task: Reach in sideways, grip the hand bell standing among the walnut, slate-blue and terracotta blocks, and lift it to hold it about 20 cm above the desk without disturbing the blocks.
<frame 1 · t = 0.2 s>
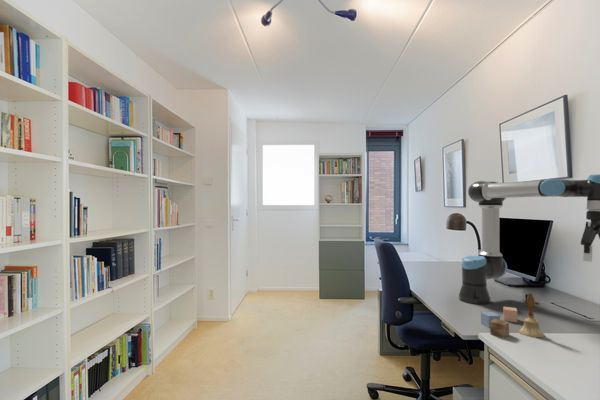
hand: (595, 260, 141), 27 cm above the table, tool pointing down, fingers open, 13 cm apart
hand bell: (531, 334, 131), on the table
terracotta block: (510, 320, 147), on the table
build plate: (528, 303, 176), on the table
walnut block: (499, 334, 130), on the table
slate-blue block: (490, 325, 140), on the table
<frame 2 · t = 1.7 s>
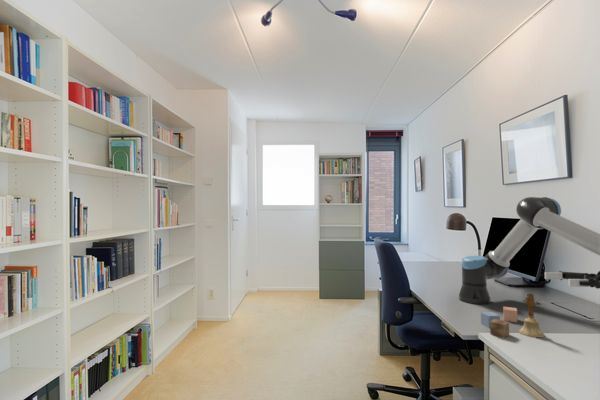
hand: (556, 278, 130), 22 cm above the table, tool horizontal, fingers open, 13 cm apart
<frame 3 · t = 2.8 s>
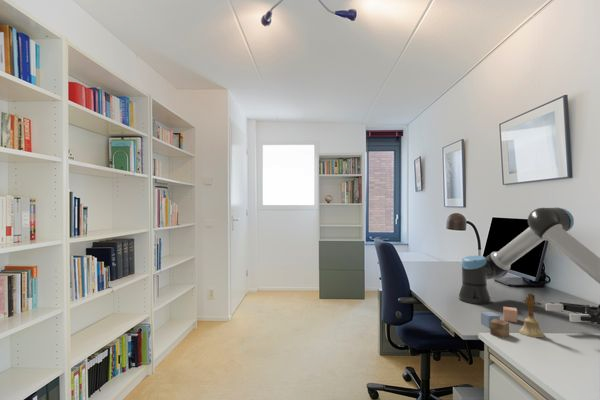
hand: (557, 312, 130), 9 cm above the table, tool horizontal, fingers open, 13 cm apart
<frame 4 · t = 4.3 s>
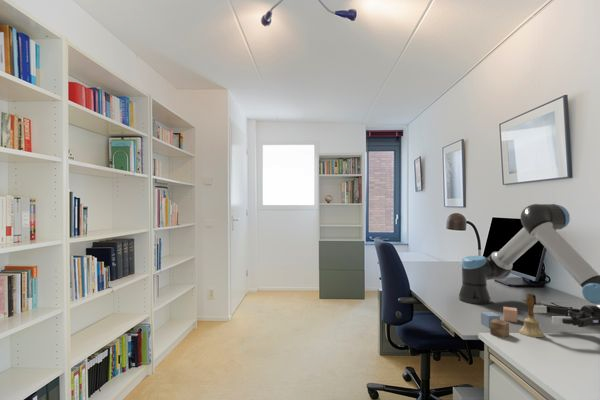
hand: (540, 314, 130), 8 cm above the table, tool horizontal, fingers open, 13 cm apart
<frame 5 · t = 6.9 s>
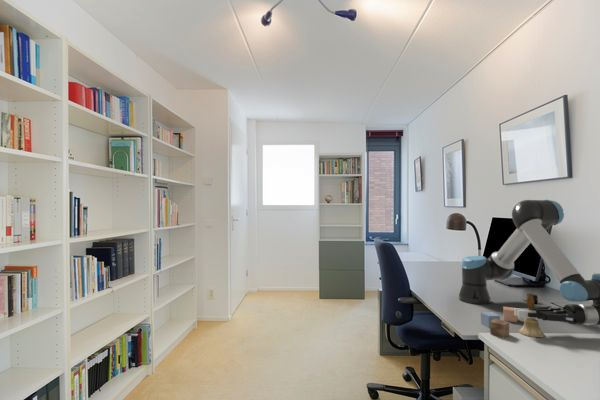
hand: (516, 312, 131), 8 cm above the table, tool horizontal, fingers closed on hand bell, 2 cm apart
hand bell: (531, 334, 131), on the table, touching gripper
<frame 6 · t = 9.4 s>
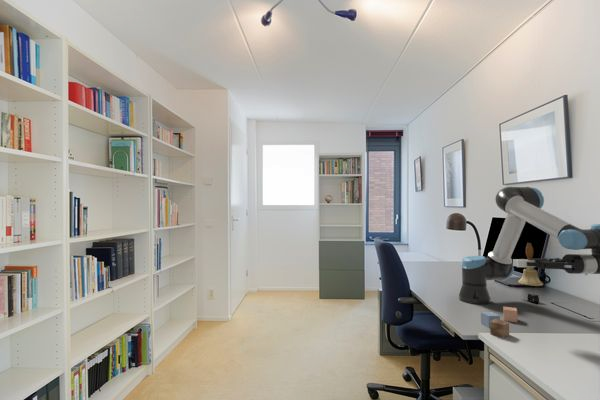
hand: (515, 263, 132), 28 cm above the table, tool horizontal, fingers closed on hand bell, 2 cm apart
hand bell: (530, 284, 131), point 19 cm above the table, touching gripper
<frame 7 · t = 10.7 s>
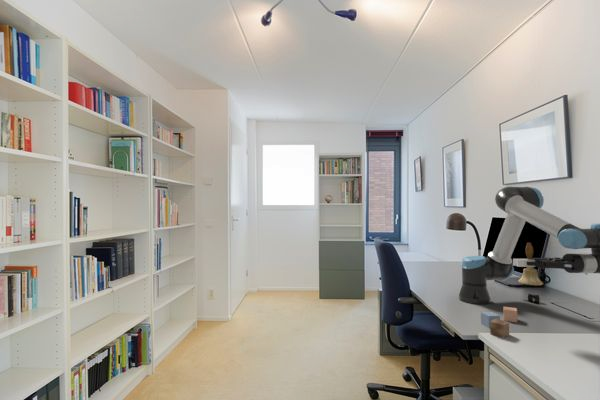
hand: (515, 262, 132), 28 cm above the table, tool horizontal, fingers closed on hand bell, 2 cm apart
hand bell: (530, 283, 131), point 20 cm above the table, touching gripper
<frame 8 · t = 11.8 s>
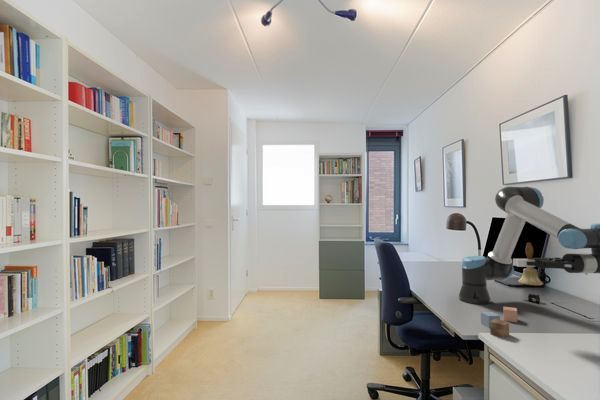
hand: (515, 262, 132), 28 cm above the table, tool horizontal, fingers closed on hand bell, 2 cm apart
hand bell: (530, 283, 131), point 20 cm above the table, touching gripper
at the end: the gripper is holding hand bell; hand bell point 19.7 cm above the table; walnut block moved 0.1 cm from its start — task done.
